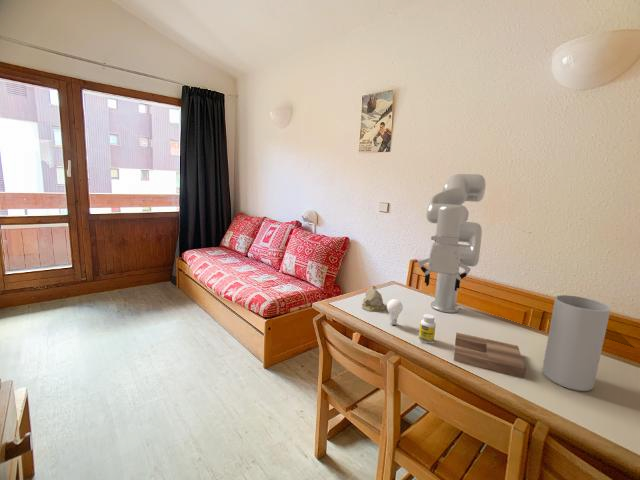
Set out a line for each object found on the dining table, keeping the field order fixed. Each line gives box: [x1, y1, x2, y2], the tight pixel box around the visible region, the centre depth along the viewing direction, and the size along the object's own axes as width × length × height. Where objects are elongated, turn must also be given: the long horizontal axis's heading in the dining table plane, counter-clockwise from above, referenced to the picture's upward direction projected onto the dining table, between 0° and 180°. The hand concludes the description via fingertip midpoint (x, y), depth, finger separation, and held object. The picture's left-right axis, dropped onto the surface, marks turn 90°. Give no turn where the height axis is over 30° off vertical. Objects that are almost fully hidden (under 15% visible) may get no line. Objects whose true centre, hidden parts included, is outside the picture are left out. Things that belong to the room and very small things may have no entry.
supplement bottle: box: [418, 313, 437, 344], centre depth 115 cm, size 5×5×10 cm
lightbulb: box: [386, 298, 404, 326], centre depth 127 cm, size 6×6×11 cm
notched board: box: [453, 332, 526, 379], centre depth 106 cm, size 16×20×3 cm
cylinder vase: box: [541, 294, 611, 392], centre depth 93 cm, size 12×12×25 cm
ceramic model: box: [361, 285, 386, 312], centre depth 147 cm, size 14×11×10 cm
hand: (441, 287), depth 111 cm, fingers open, 9 cm apart
